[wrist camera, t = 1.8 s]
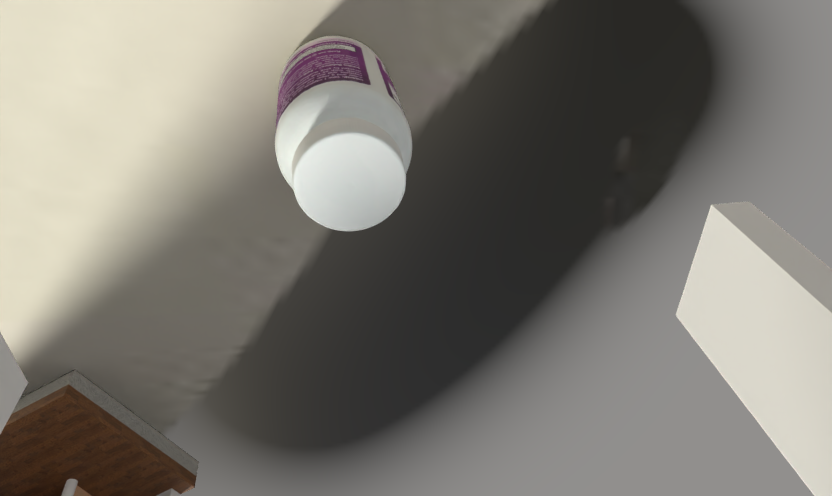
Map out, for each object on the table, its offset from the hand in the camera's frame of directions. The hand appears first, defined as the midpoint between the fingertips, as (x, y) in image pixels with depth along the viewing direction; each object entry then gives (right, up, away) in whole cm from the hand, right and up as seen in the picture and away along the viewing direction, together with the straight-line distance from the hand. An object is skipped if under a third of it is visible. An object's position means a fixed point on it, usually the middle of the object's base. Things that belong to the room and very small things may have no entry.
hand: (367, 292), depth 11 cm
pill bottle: (-3, +9, +17) cm, 20 cm away
